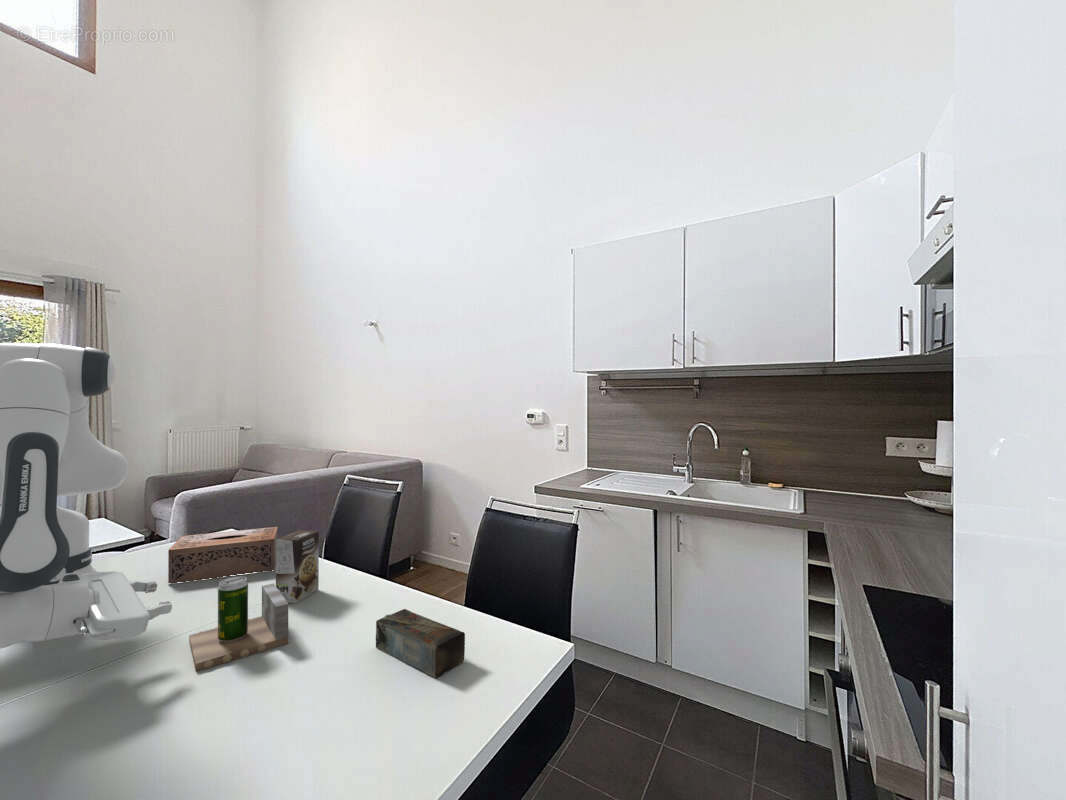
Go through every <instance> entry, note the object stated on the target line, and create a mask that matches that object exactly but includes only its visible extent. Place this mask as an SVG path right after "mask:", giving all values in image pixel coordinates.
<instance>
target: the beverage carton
mask: <svg viewBox="0 0 1066 800" xmlns="http://www.w3.org/2000/svg"><path fill="white" fill-rule="evenodd" d="M465 644H466V634H465V632H464V631H461V630H459V629H456V628H454V627H451V626H448V625H446V624H443V623H441V622H437V621H435V620H433V619H430V618H427V617H425V616H423V615H420V614H417V613H415V612H413V611H411V610H408V609H407V608H404V609H401V610H398V611H396V612H393V613H391V614H386V615H384V616H383V617H381V618H379V619H377V620H376V621H375V648H377V649H378V650H380V651H381V652H382V651H383V652H384V653H386V654H387V655H389V656H391V657H393V658H395V659H398V660H399V661H402V662H403V663H406V664H407V665H409V666H412V667H414V668H415V669H416V670H417V669H418V670H420V671H422V672H423V673H426V674H427V675H429V676H431V677H433V678H435V679H438V678H439V677H441V676H443V675H444V674H446V673H447V672H449V671H451V670H453V669H454V668H456V667H458V666H459V665H461V664H464V663H465V653H466V652H465V651H466V650H465V649H466V647H465Z"/></svg>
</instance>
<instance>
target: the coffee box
mask: <svg viewBox="0 0 1066 800" xmlns="http://www.w3.org/2000/svg"><path fill="white" fill-rule="evenodd" d="M319 538H320V531H319V530H301V529H299V530H297V531H294V532H292V533H289V534H286V535H284V536H281V537H278V539H276V565H275V586H276V588H277V589H278V590H279V592H280V593H281V594H282V596H283V597H284V598H285V600H286V601H287V602H288V604H289V603H290V604H298V603H299V602H301V601H303V600H304V599H305V597H306V598H307V597H309V596H310V594H311V595H312V594H314V593H316V592H317V591H319V578H320V577H319V576H320V575H319V572H320V571H319V569H320V568H319V567H320V566H319V565H320V564H319V563H320V561H319V559H320V558H319V556H320V555H319V554H320V553H319V552H320V551H319V550H320V549H319V548H320V539H319ZM315 591H316V592H315ZM313 592H314V593H313ZM308 595H309V596H308Z"/></svg>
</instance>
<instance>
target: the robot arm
mask: <svg viewBox="0 0 1066 800" xmlns="http://www.w3.org/2000/svg"><path fill="white" fill-rule="evenodd" d="M115 377H116V368H115V365H114V363H113V360H112V359H111V356H110V354H108V353H107V352H106V351H105V350H102V349H99V348H95V347H90V346H89V347H88V346H85V348H84V347H81V346H75V345H68V344H67V345H66V344H60V343H51V342H50V343H49V342H42V343H37V342H35V343H34V342H0V649H4V648H8V647H10V646H13V645H16V644H20V643H24V642H25V643H26V642H44V641H49V640H50V641H51V640H55V639H61V638H67V637H72V636H77V635H78V636H81V637H88V638H89V639H92V640H96V641H108V640H109V641H110V640H117V639H124V638H125V639H126V638H132V637H137V636H140V635H142V634H143V633H145V632H146V630H147V628H148V625H149V621H151V620H153V619H155V618H157V617H159V616H160V615H166V614H170V613H171V612H172V608H173V604H172V603H171V602H170V601H169V600H167V601H160V602H159V604H158V605H154V606H151V605H150V606H149V605H148V606H145V605H144V604H143V602H142V601H141V599H140V597H139V596H138V594H137V592H138V593H140V592H141V593H143V592H144V593H145V594H150V593H154V592H156V591H157V588H158V583H157V582H156V581H155V580H151V581H143V580H136V579H135V580H134V579H132V580H131V579H130V580H128V578H127V576H126V575H125V573H124V572H122V571H121V572H120V571H116V570H115V571H99V570H97V568H95V567H93V566H92V561H93V553H92V548H90V521H89V518H88V517H87V516H86V515H85V514H83V513H81V512H80V511H79V512H78V511H76V510H73V509H68V508H64V507H61V506H59V505H58V497H68V496H77V495H78V496H79V495H80V496H81V495H88V494H89V495H90V494H97V493H101V492H104V491H110V490H114V489H117V488H119V487H120V486H121V485H122V484H123V483H124V482H125V481H126V479H127V478H128V475H129V469H130V467H129V462H128V460H127V459H126V457H125V456H124V455H123V453H121V452H119V450H115V449H112V448H110V447H109V446H107V445H105V444H103V443H102V442H101V441H99V439H97V438H96V436H95V435H94V434H93V432H92V431H91V428H90V423H89V414H88V402H87V401H88V400H87V399H88V398H87V397H95V396H100V395H103V394H105V393H107V392H108V391H109V390H110V387H111V386H112V384H113V383H114V380H115Z"/></svg>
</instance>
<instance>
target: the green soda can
mask: <svg viewBox="0 0 1066 800" xmlns="http://www.w3.org/2000/svg"><path fill="white" fill-rule="evenodd" d="M247 580H248V578H247V577H246V576H243V575H241V576H233V577H226V578H225V579H224V578H223V580H220V581H219V585H218V587H217V627H218V639H219V641H220V642H221V643H233V642H237V641H239V640H241V639H243V638H244V637H245V636H246V634H247V632H248V619H249V582H248V581H247Z"/></svg>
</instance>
